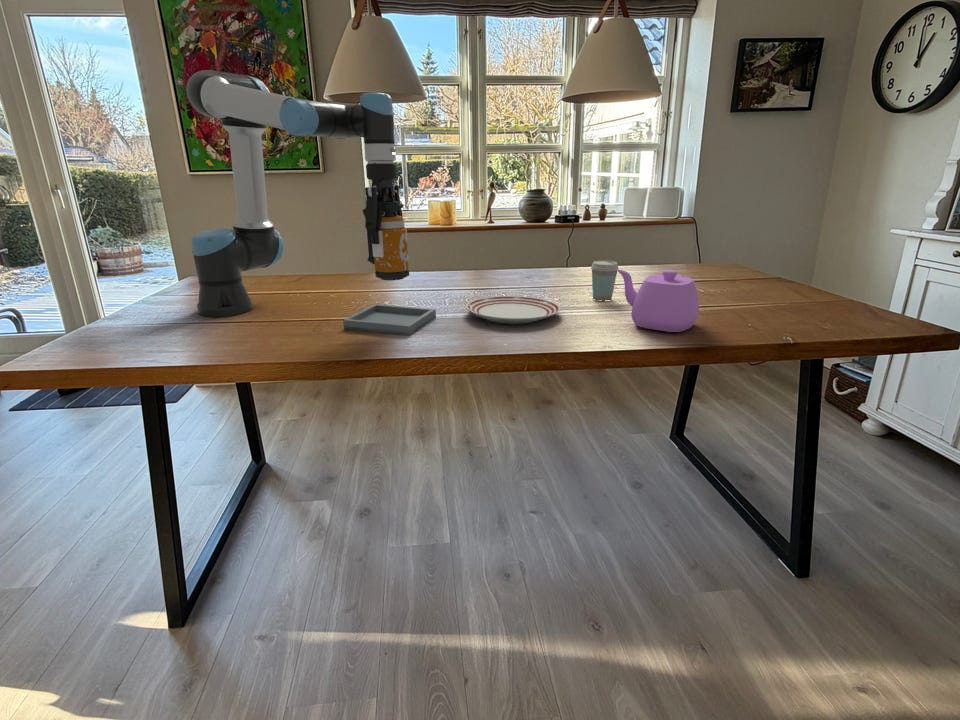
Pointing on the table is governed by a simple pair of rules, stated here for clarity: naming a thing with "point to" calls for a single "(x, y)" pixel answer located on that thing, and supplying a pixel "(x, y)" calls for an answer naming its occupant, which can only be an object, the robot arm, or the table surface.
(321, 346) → the table surface
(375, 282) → the table surface
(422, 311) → the tray
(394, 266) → the canister
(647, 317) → the teapot
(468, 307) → the dinner plate
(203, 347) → the table surface
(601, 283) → the coffee cup
